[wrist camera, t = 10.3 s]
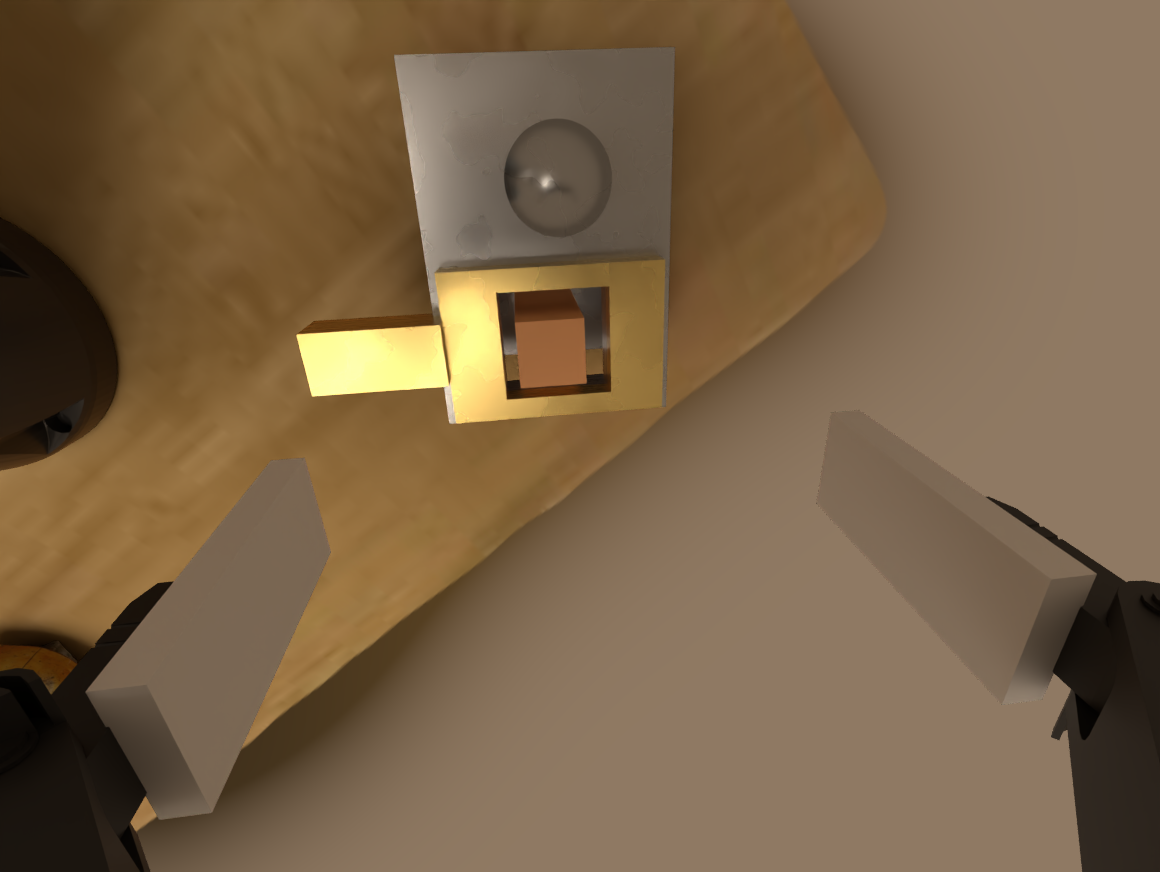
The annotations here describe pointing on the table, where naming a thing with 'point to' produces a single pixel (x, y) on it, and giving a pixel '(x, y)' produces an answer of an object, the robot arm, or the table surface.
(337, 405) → the table surface
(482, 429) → the table surface
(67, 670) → the decorative figurine
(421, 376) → the grey and yellow stand
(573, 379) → the wedge pin
